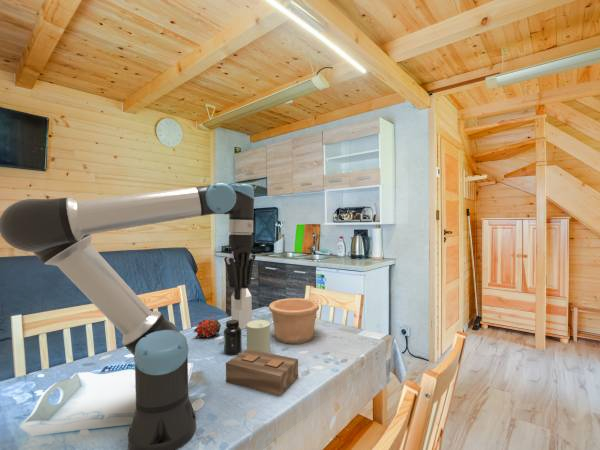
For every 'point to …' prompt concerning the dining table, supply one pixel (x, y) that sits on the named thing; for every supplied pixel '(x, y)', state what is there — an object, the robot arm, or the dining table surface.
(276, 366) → the right pin
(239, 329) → the supplement bottle
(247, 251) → the robot arm
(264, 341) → the can
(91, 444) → the dining table surface
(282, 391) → the socket block
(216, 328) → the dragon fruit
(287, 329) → the pottery
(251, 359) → the left pin
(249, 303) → the milk carton
